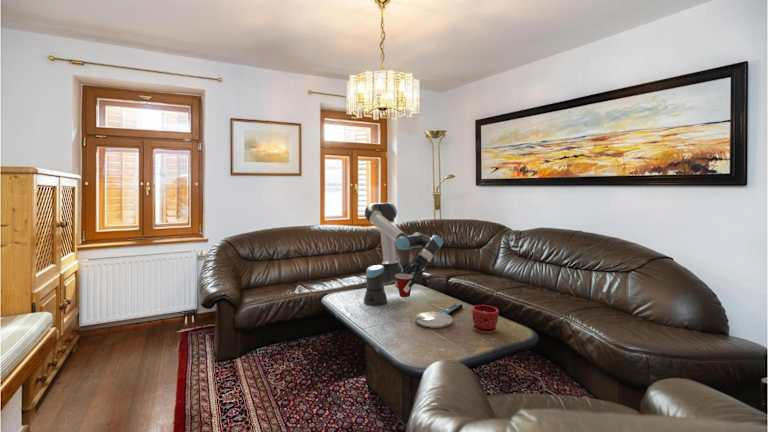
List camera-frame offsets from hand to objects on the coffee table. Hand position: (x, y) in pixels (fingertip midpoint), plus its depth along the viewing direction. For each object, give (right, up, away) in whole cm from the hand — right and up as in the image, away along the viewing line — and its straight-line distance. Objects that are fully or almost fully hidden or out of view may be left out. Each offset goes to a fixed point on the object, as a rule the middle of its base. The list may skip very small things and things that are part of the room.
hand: (400, 289), depth 208 cm
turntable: (+18, -18, -3) cm, 26 cm away
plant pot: (+43, -19, -15) cm, 50 cm away
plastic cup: (+3, -4, +2) cm, 6 cm away
